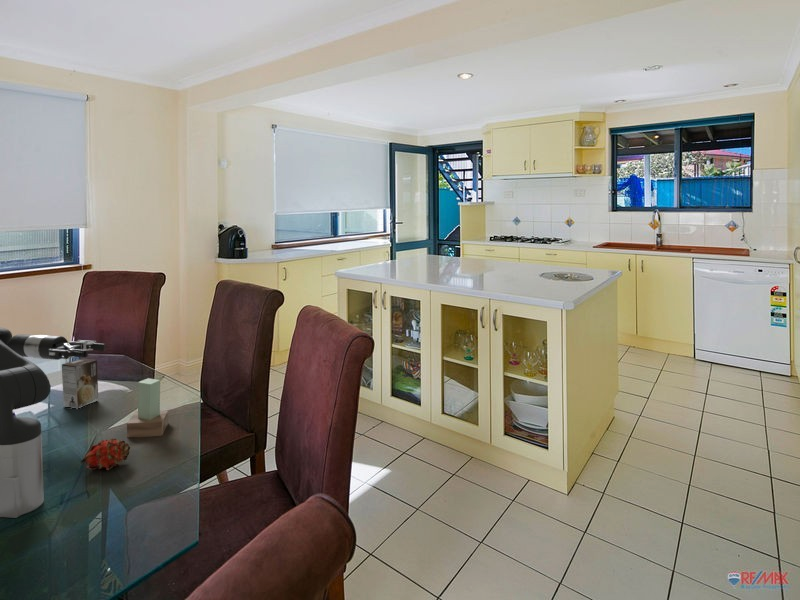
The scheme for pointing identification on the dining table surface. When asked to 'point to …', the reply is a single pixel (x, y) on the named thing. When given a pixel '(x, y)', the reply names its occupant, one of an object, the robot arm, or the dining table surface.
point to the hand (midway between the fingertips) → (96, 350)
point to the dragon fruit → (106, 454)
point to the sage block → (148, 398)
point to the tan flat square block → (147, 425)
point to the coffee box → (79, 382)
